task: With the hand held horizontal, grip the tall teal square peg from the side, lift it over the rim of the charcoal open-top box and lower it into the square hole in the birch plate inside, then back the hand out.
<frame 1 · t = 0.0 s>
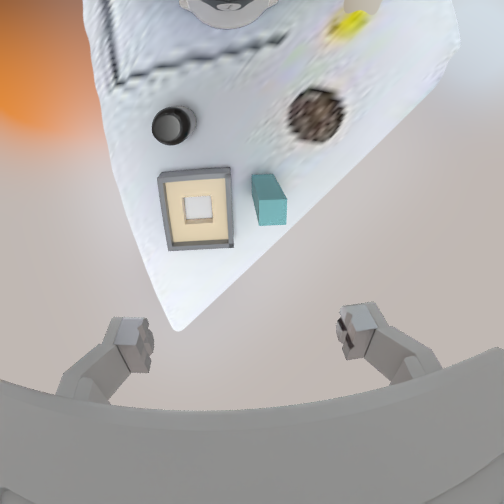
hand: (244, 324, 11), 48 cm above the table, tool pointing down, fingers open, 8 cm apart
peg: (262, 184, 58), on the table
supplement bottle: (179, 122, 50), on the table
open box: (198, 205, 59), on the table
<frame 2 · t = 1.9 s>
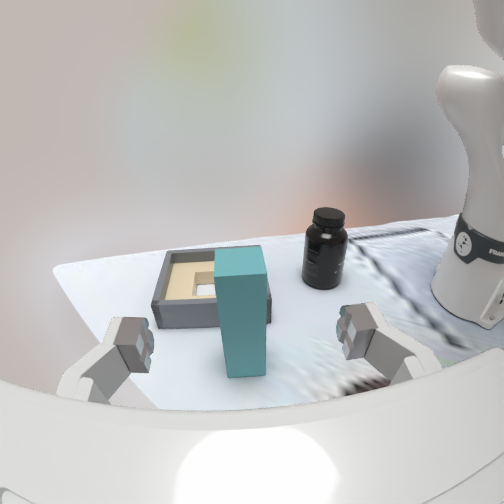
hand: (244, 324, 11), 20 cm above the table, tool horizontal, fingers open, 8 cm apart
peg: (245, 362, 33), on the table
supplement bottle: (321, 278, 48), on the table
open box: (214, 295, 44), on the table
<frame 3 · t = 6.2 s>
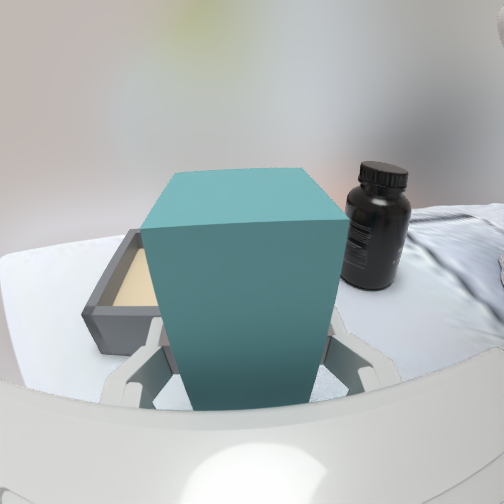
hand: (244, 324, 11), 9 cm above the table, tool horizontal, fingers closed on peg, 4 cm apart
peg: (250, 429, 15), on the table, touching gripper
supplement bottle: (365, 274, 30), on the table
open box: (198, 299, 27), on the table
when the fingers open (10 cm above the table, at t = 12.5 s): peg stays where it is, resting in open box.
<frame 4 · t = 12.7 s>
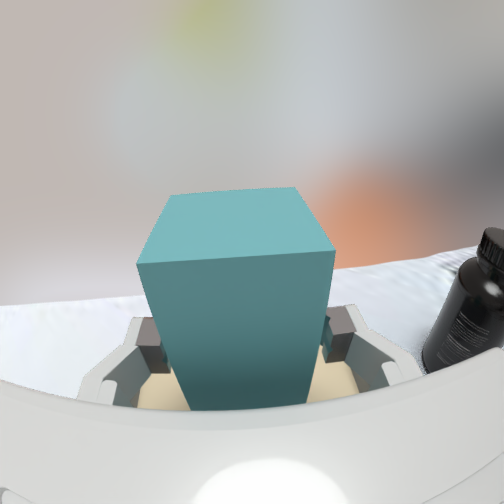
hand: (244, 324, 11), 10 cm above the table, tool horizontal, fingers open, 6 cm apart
peg: (251, 434, 16), resting in open box
supplement bottle: (450, 362, 19), on the table
open box: (250, 433, 16), on the table
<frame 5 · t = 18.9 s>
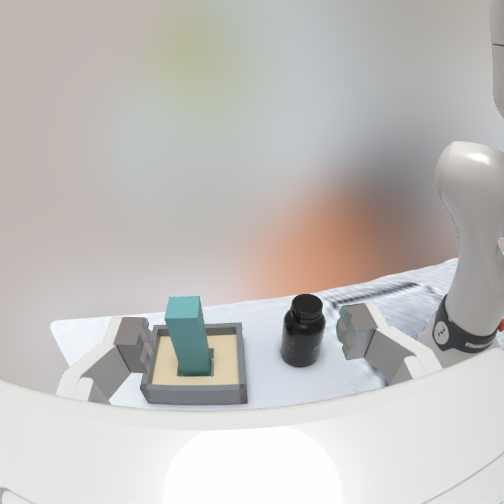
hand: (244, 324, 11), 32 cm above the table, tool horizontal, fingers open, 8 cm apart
peg: (198, 370, 45), resting in open box
supplement bottle: (299, 353, 48), on the table
open box: (198, 370, 45), on the table
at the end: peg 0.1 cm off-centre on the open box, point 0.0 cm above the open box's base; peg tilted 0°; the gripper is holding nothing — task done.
